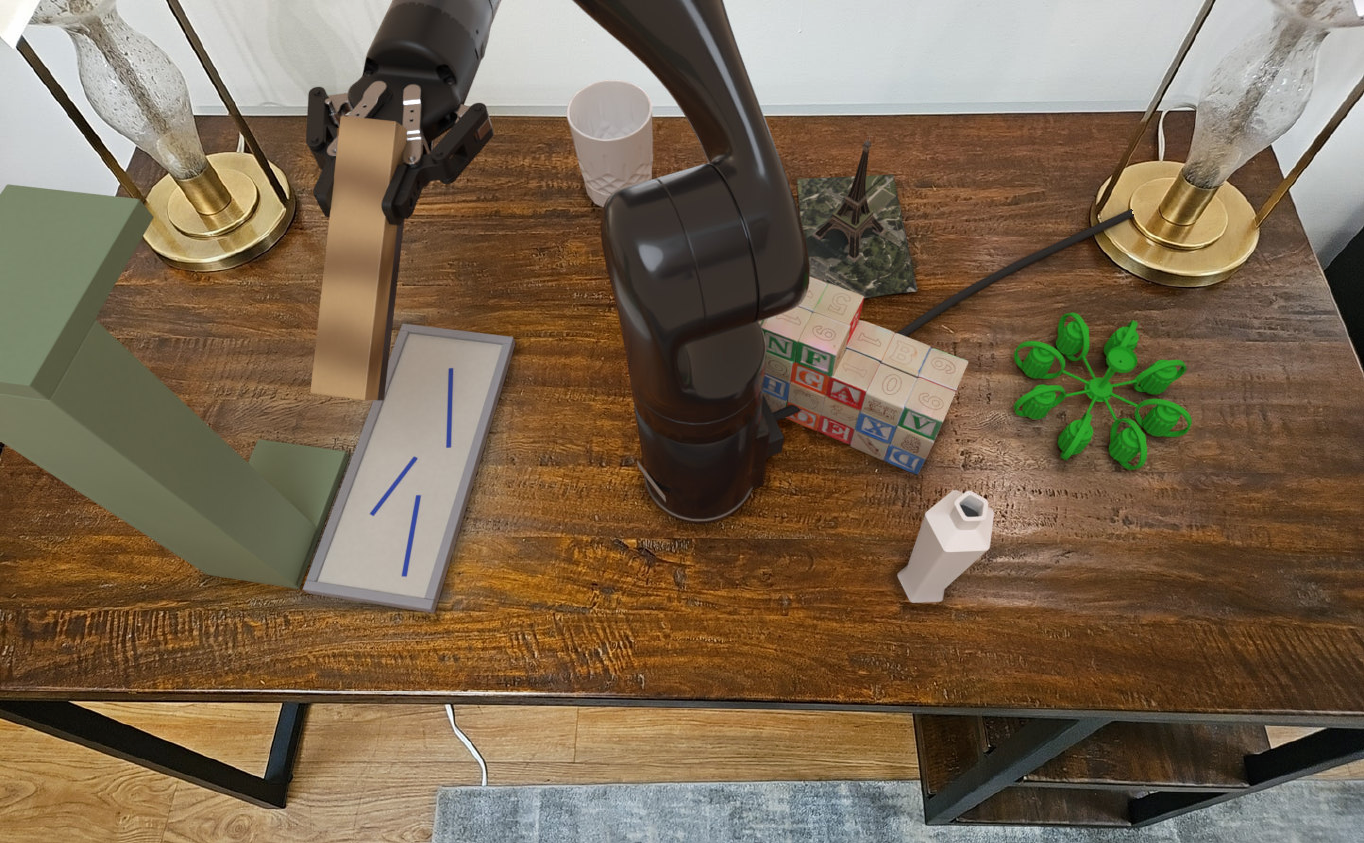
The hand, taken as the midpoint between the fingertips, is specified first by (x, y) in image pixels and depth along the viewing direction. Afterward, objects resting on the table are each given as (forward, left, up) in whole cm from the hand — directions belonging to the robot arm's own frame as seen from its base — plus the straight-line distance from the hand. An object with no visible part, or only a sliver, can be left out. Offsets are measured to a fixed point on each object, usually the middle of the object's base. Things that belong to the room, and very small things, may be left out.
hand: (358, 212), depth 60 cm
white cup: (-22, -16, -22) cm, 35 cm away
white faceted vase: (-31, +32, -22) cm, 50 cm away
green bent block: (+16, +8, -22) cm, 28 cm away
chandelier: (-52, +23, -22) cm, 61 cm away
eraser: (+1, +1, -4) cm, 4 cm away
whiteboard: (+4, +7, -22) cm, 24 cm away
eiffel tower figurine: (-41, -1, -22) cm, 47 cm away
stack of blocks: (-30, +14, -22) cm, 40 cm away
